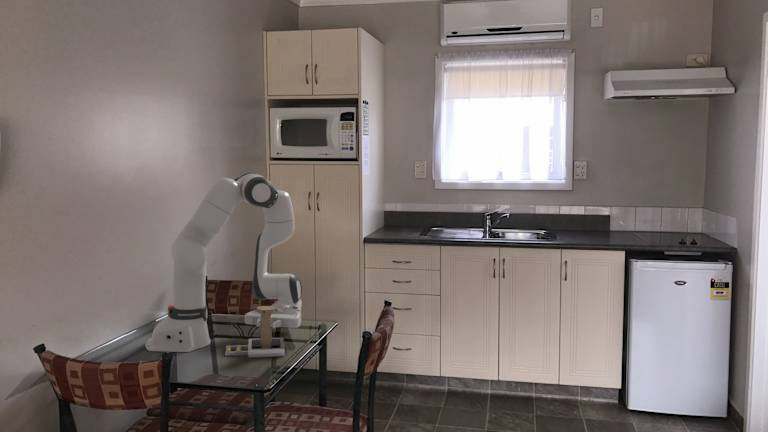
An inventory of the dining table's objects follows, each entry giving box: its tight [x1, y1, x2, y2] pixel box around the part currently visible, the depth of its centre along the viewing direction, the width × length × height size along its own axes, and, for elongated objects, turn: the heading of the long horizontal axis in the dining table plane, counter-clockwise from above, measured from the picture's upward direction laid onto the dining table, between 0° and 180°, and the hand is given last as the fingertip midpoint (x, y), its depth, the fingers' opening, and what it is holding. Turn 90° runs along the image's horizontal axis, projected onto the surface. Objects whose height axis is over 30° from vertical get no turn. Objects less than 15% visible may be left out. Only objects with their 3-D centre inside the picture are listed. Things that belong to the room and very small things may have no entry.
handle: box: [256, 305, 275, 349], centre depth 232 cm, size 5×6×15 cm
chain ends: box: [224, 337, 285, 359], centre depth 232 cm, size 20×12×3 cm, turn 101°
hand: (265, 325), depth 231 cm, fingers closed on handle, 4 cm apart
